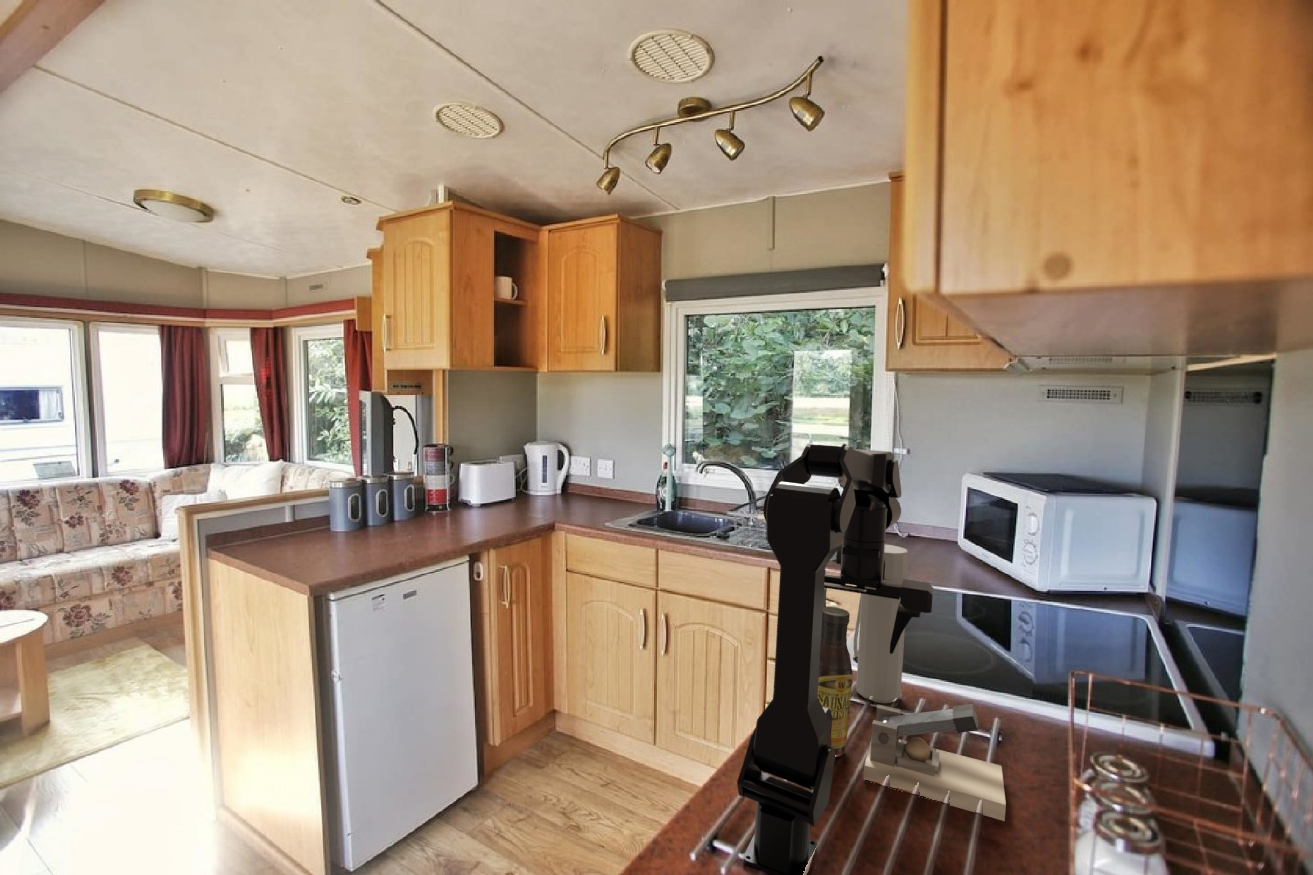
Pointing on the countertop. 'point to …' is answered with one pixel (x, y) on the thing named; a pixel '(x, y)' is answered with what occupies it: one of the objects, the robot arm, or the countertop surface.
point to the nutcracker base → (934, 771)
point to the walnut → (917, 749)
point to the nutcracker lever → (935, 721)
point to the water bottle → (881, 635)
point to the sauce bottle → (835, 673)
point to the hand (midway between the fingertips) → (857, 646)
